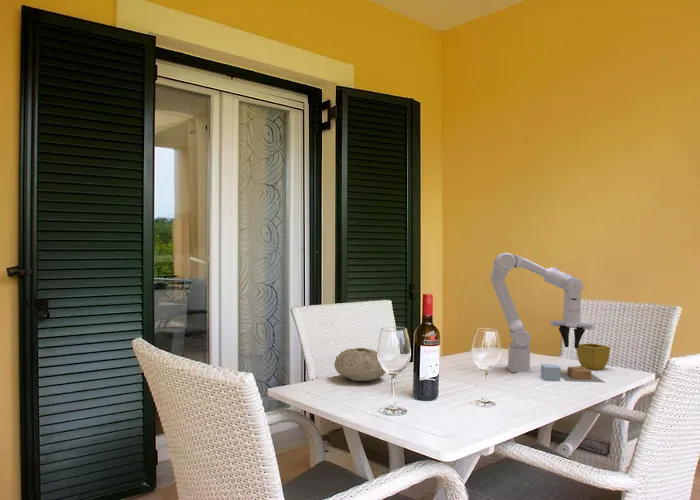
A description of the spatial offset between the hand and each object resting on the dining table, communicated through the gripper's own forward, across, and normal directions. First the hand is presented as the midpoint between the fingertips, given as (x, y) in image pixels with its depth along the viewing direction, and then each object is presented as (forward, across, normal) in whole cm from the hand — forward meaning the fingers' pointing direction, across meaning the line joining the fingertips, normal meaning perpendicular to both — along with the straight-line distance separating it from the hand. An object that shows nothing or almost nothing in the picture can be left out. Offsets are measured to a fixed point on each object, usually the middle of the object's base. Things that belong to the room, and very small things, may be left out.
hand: (571, 347), depth 194 cm
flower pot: (+10, +4, +14) cm, 17 cm away
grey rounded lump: (+10, -49, -61) cm, 79 cm away
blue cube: (+10, -2, -16) cm, 19 cm away
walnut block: (+9, +5, -6) cm, 12 cm away
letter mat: (+9, +5, -6) cm, 12 cm away
